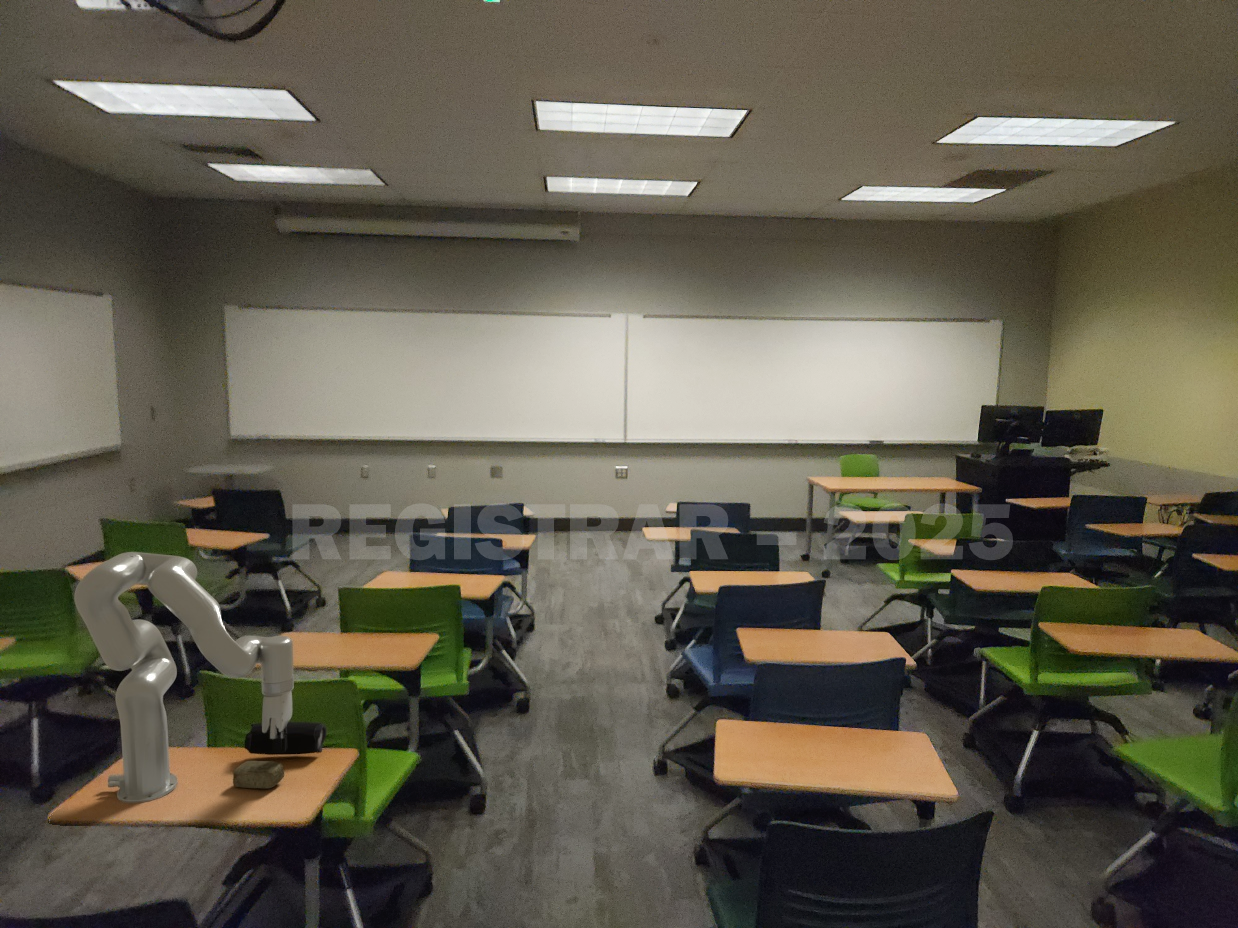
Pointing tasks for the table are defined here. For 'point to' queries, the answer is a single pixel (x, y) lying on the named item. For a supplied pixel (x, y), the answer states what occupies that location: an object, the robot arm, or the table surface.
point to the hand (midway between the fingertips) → (279, 750)
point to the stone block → (258, 774)
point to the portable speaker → (288, 739)
